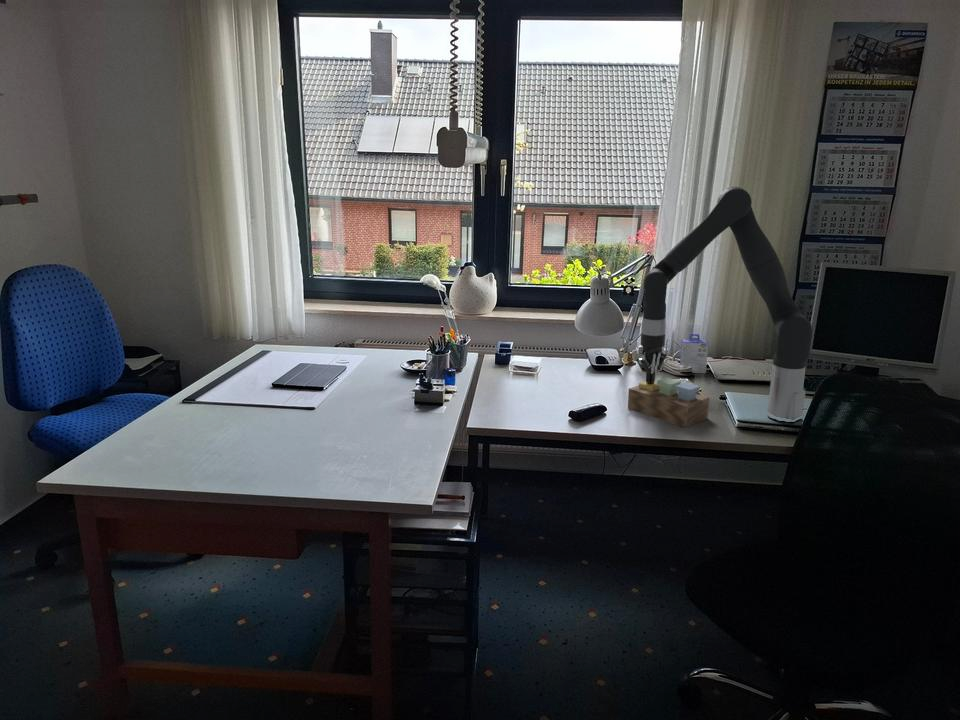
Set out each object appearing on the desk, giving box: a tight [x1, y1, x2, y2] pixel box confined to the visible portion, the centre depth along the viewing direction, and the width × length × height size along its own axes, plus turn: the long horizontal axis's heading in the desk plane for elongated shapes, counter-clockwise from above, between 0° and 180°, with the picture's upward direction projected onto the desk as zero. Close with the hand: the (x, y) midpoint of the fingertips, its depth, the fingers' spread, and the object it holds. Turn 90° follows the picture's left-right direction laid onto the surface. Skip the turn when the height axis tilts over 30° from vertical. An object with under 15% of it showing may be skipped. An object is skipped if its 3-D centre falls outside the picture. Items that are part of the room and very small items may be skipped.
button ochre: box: [638, 380, 660, 391], centre depth 217 cm, size 5×5×7 cm
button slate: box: [675, 382, 701, 402], centre depth 206 cm, size 5×5×7 cm
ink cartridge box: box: [679, 333, 709, 374], centre depth 255 cm, size 10×6×14 cm, turn 78°
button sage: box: [656, 377, 682, 396], centre depth 211 cm, size 5×5×7 cm
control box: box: [627, 385, 710, 428], centre depth 212 cm, size 22×12×7 cm, turn 38°
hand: (650, 383), depth 216 cm, fingers closed
